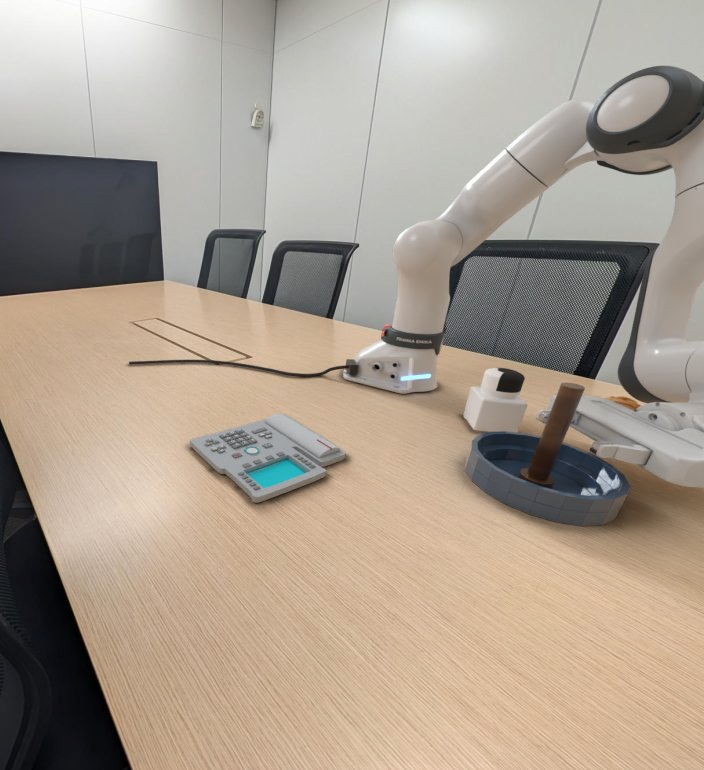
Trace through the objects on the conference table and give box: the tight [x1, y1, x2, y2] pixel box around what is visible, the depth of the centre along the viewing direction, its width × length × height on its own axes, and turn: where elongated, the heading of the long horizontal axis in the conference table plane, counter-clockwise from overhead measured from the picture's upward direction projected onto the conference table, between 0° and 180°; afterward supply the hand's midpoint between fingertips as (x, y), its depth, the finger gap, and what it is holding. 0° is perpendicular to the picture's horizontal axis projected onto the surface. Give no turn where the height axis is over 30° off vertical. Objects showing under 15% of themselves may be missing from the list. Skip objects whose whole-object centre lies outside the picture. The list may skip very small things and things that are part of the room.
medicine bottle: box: [462, 367, 528, 433], centre depth 73 cm, size 7×7×12 cm
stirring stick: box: [518, 382, 586, 489], centre depth 55 cm, size 4×4×17 cm
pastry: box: [604, 395, 642, 411], centre depth 77 cm, size 9×7×4 cm
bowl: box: [464, 431, 632, 527], centre depth 57 cm, size 18×18×5 cm
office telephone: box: [189, 413, 346, 504], centre depth 68 cm, size 23×3×20 cm
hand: (565, 431), depth 54 cm, fingers open, 8 cm apart
